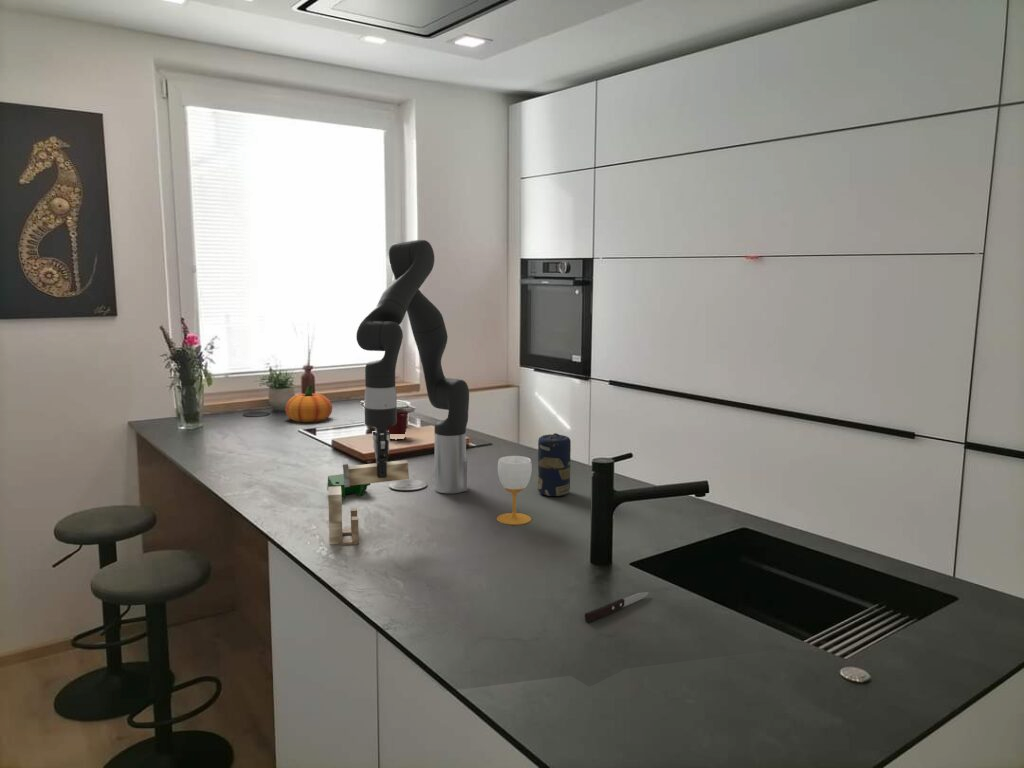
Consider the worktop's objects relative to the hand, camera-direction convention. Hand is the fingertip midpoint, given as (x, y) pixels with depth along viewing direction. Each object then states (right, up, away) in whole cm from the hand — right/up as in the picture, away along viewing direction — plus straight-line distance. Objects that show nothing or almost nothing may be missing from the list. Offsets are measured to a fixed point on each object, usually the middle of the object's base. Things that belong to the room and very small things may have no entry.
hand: (381, 475), depth 177 cm
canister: (+44, -10, +38) cm, 59 cm away
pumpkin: (-57, +6, +142) cm, 153 cm away
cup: (+32, -14, +15) cm, 38 cm away
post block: (-9, -15, 0) cm, 18 cm away
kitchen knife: (+52, -22, -36) cm, 67 cm away
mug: (-13, +1, +107) cm, 108 cm away
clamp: (-15, -10, +35) cm, 39 cm away
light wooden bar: (-1, -1, 0) cm, 1 cm away
